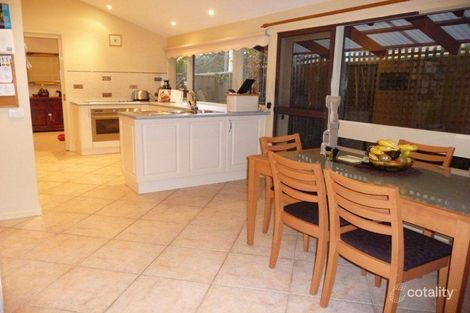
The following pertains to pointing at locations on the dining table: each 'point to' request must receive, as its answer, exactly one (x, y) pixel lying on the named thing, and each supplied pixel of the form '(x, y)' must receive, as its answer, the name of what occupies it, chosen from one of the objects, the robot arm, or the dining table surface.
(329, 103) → the robot arm
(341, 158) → the mat
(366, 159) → the stone
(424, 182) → the dining table surface
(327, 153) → the stool
